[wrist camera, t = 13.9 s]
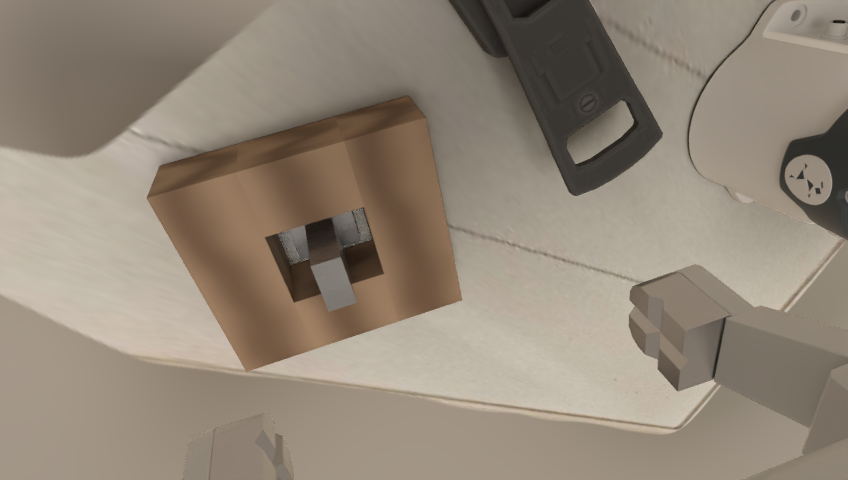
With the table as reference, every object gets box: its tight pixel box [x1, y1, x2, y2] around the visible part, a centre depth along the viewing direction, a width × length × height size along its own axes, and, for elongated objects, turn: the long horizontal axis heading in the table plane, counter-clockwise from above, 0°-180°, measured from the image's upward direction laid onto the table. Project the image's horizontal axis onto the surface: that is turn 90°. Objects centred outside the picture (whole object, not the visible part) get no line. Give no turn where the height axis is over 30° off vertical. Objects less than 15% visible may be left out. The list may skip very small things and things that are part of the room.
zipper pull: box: [449, 0, 663, 196], centre depth 34 cm, size 9×7×25 cm
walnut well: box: [147, 96, 462, 372], centre depth 39 cm, size 18×16×5 cm
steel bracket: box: [289, 211, 361, 312], centre depth 38 cm, size 5×4×8 cm
